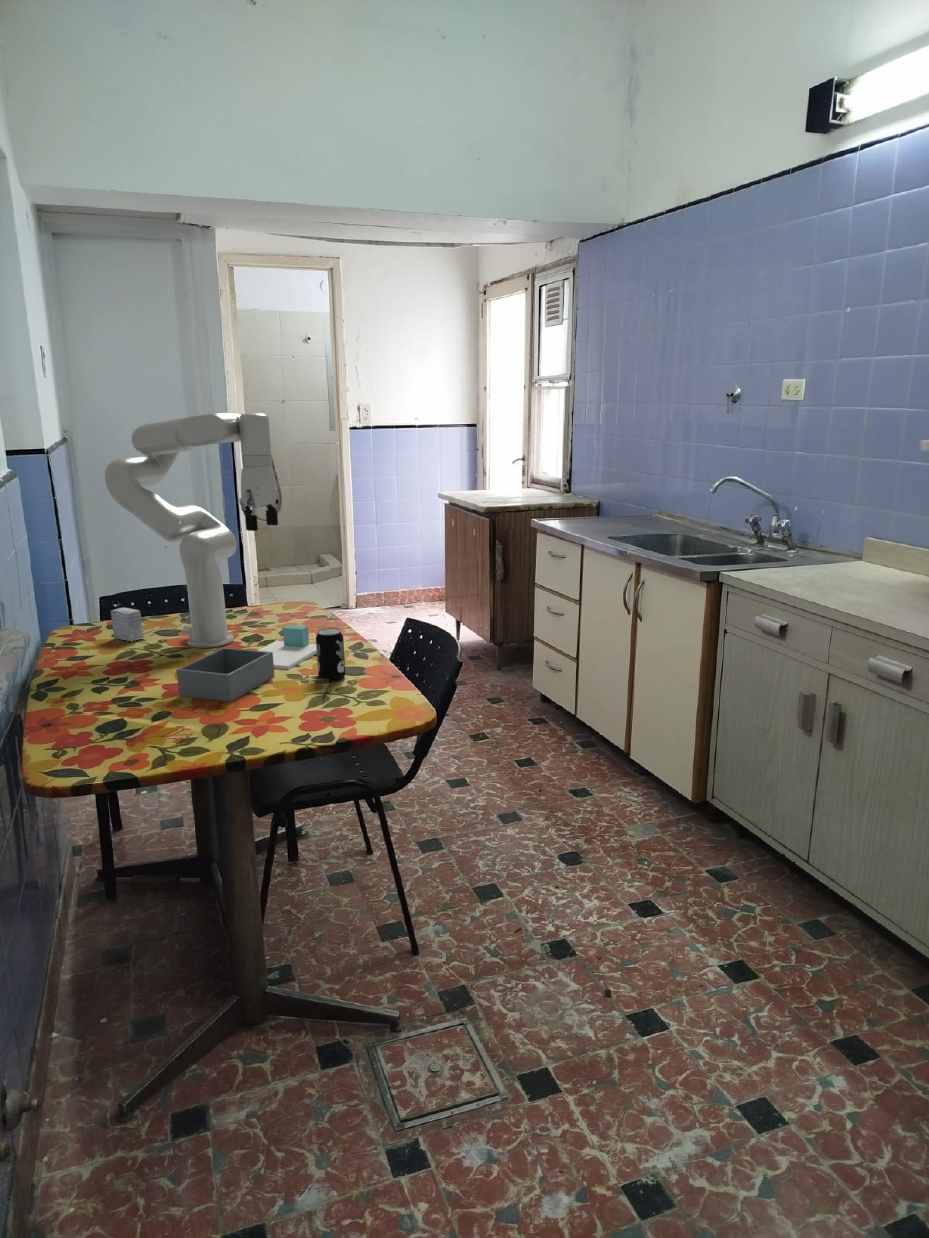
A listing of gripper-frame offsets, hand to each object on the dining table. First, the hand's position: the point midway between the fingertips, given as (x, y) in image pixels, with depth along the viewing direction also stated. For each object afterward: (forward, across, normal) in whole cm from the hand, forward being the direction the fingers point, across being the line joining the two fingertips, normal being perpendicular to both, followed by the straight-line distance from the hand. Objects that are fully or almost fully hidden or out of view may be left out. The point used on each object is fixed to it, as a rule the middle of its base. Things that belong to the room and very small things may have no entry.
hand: (262, 527), depth 217 cm
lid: (+34, +8, +8) cm, 35 cm away
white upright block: (+34, +4, -45) cm, 56 cm away
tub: (+33, +32, +8) cm, 47 cm away
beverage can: (+34, +18, +28) cm, 47 cm away
